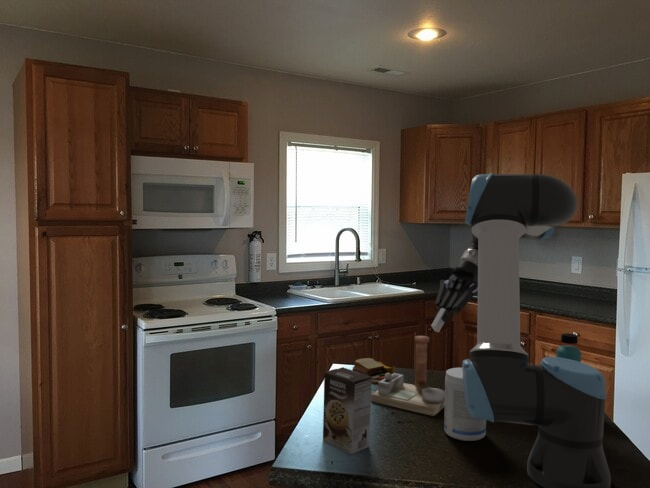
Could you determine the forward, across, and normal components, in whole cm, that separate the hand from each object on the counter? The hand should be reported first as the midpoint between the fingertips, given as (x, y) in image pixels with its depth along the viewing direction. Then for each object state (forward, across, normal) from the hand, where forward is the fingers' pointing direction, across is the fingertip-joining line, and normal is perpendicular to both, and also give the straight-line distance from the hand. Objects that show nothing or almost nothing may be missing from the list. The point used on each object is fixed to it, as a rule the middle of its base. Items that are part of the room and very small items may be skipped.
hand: (434, 328), depth 157 cm
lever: (+17, +4, +5) cm, 19 cm away
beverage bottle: (0, +31, +26) cm, 40 cm away
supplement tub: (+26, +23, 0) cm, 35 cm away
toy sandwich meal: (+16, -20, +11) cm, 28 cm away
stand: (+21, +1, +5) cm, 21 cm away
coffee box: (+44, +9, -18) cm, 48 cm away
